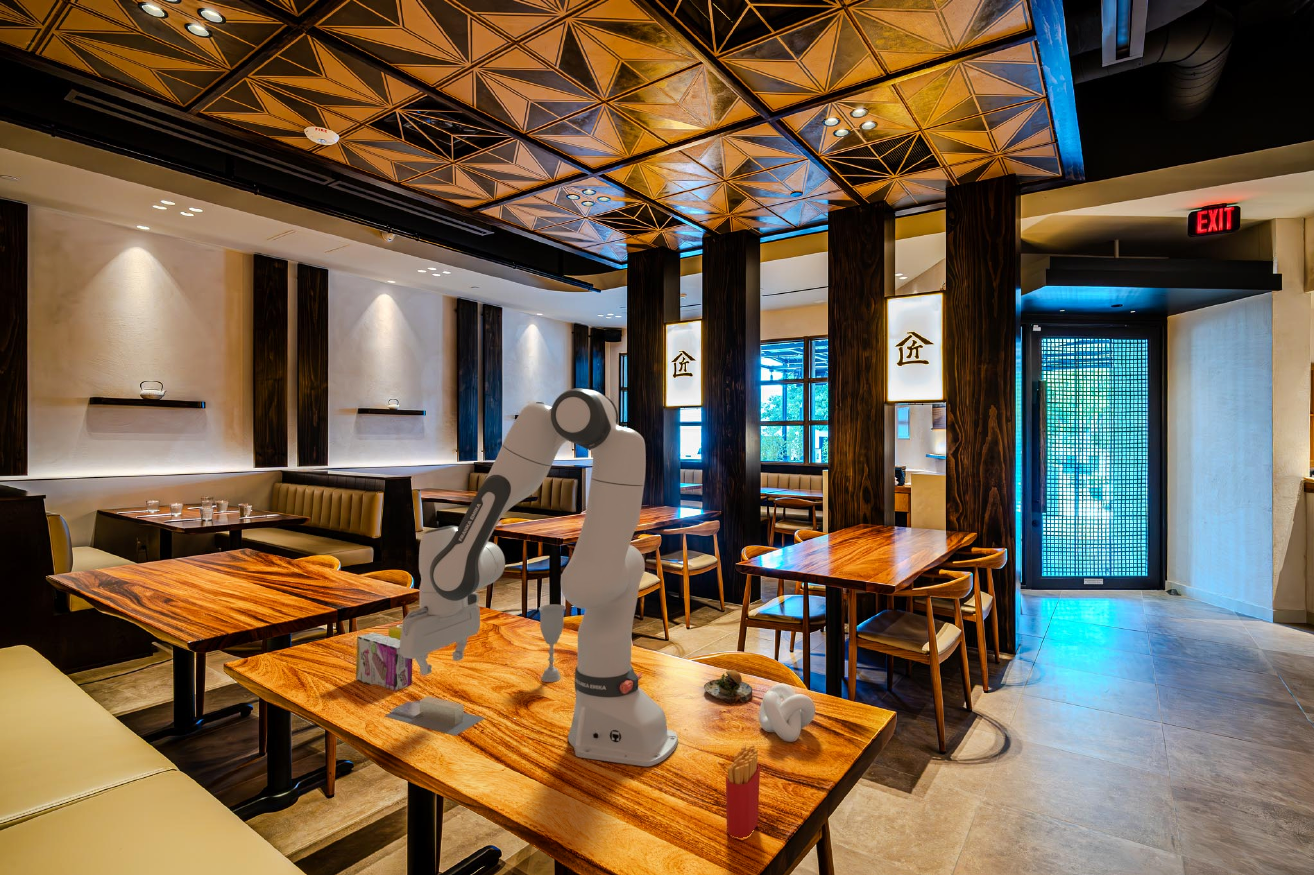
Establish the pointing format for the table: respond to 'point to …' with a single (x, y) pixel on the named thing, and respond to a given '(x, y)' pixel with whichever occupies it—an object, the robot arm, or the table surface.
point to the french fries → (743, 793)
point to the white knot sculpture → (785, 712)
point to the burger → (730, 688)
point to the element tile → (395, 631)
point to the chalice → (551, 635)
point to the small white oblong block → (432, 710)
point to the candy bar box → (382, 662)
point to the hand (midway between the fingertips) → (442, 666)
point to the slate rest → (439, 726)
